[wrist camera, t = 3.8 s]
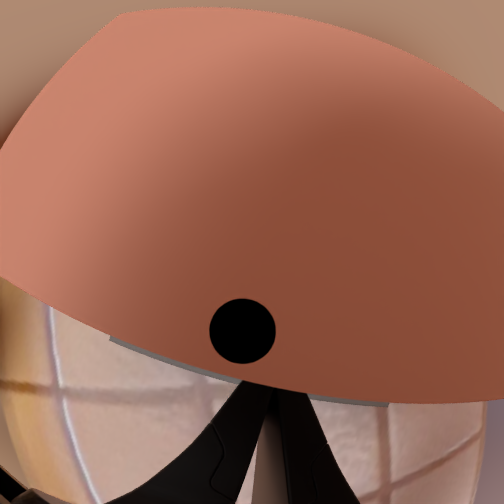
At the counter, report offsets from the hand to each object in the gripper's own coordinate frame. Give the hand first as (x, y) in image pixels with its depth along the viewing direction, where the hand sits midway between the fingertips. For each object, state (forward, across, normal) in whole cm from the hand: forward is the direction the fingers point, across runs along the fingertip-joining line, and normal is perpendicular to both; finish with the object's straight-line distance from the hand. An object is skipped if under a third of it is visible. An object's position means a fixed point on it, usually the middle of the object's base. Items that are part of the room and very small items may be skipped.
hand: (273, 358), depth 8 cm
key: (+6, 0, +2) cm, 6 cm away
